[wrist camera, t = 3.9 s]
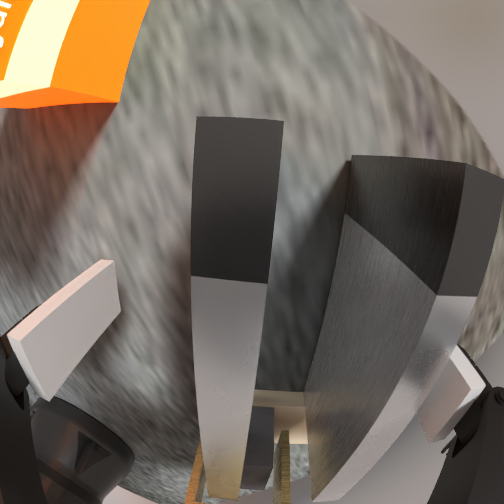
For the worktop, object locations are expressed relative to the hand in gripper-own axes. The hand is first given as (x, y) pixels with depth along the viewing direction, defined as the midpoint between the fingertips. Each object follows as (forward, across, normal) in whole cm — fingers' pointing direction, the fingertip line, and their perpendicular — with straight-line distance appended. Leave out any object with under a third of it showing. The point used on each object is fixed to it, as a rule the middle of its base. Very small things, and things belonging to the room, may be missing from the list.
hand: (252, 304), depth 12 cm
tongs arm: (+4, -5, +2) cm, 7 cm away
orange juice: (+4, +12, -14) cm, 19 cm away
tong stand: (+4, -2, +12) cm, 13 cm away
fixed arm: (+4, 0, +1) cm, 4 cm away
